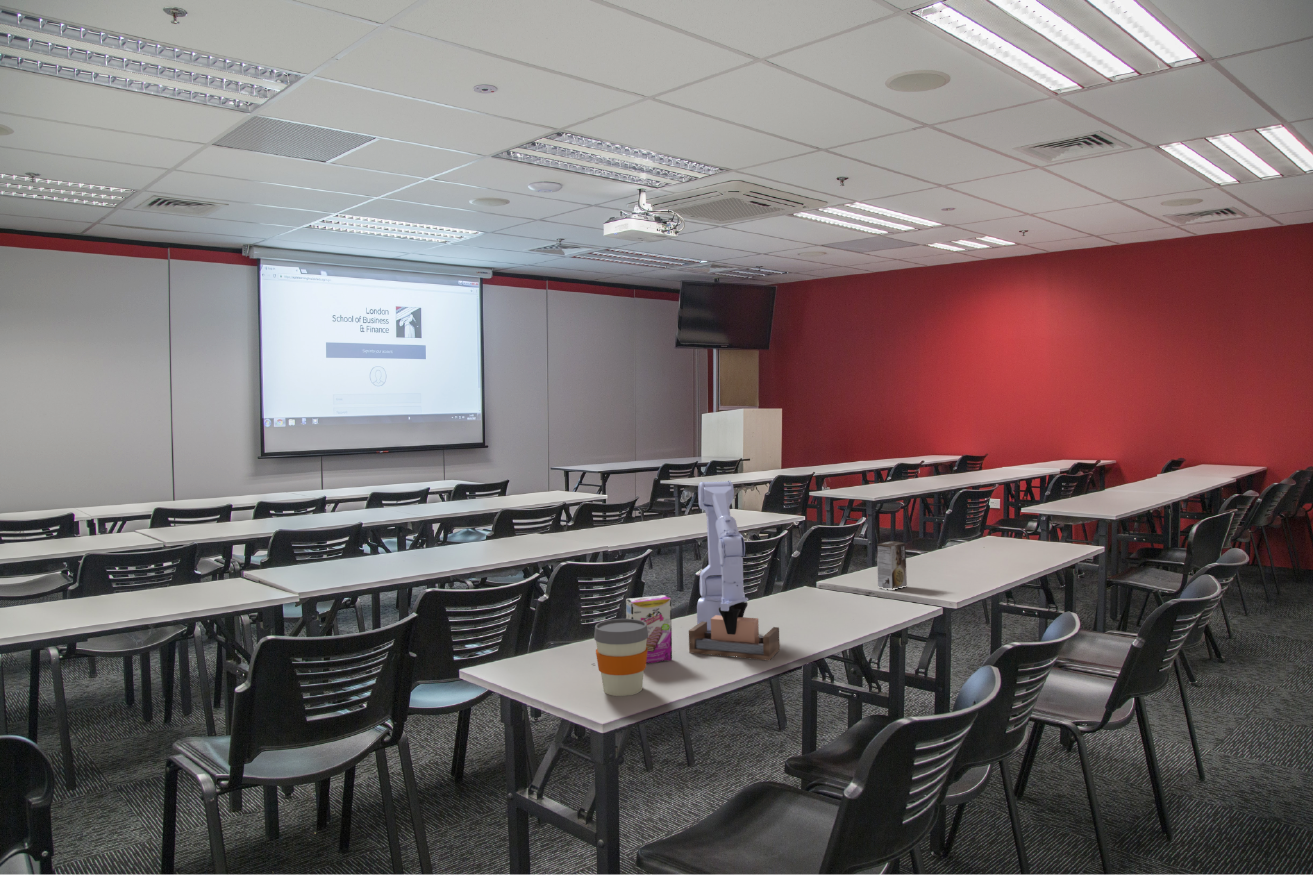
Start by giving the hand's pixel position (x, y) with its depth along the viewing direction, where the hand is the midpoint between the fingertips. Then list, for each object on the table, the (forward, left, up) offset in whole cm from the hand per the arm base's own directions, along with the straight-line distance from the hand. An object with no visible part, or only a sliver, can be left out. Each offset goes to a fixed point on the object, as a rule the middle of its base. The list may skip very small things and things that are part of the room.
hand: (733, 631), depth 212 cm
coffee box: (+29, +92, -5) cm, 97 cm away
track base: (0, 0, -5) cm, 5 cm away
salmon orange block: (0, 0, -3) cm, 3 cm away
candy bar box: (-18, -15, -5) cm, 24 cm away
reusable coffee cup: (-15, -37, -5) cm, 40 cm away
